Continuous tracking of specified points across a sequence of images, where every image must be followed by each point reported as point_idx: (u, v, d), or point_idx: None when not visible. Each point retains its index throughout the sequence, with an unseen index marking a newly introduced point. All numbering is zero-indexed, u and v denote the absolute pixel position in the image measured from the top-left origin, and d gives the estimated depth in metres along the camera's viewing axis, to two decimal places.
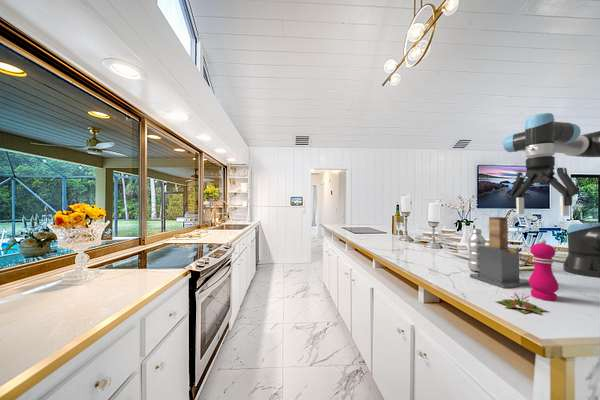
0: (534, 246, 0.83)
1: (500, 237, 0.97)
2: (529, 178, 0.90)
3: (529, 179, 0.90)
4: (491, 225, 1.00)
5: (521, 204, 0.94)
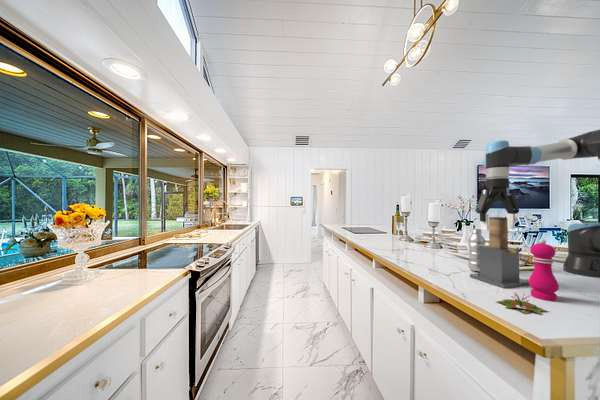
0: (534, 246, 0.83)
1: (500, 237, 0.97)
2: None
3: None
4: (491, 225, 1.00)
5: (509, 220, 1.01)
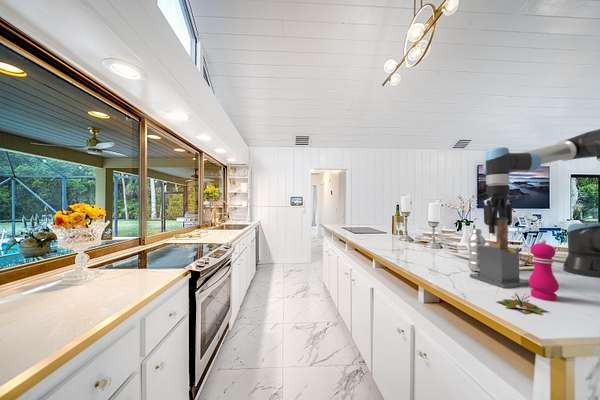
0: (534, 246, 0.83)
1: (500, 237, 0.97)
2: None
3: None
4: None
5: None
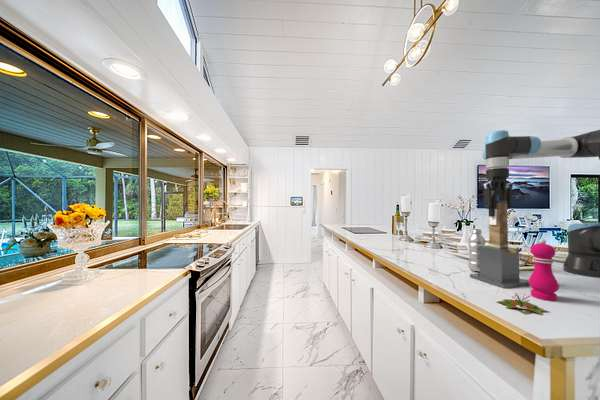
0: (534, 246, 0.83)
1: (500, 220, 0.97)
2: None
3: None
4: None
5: None
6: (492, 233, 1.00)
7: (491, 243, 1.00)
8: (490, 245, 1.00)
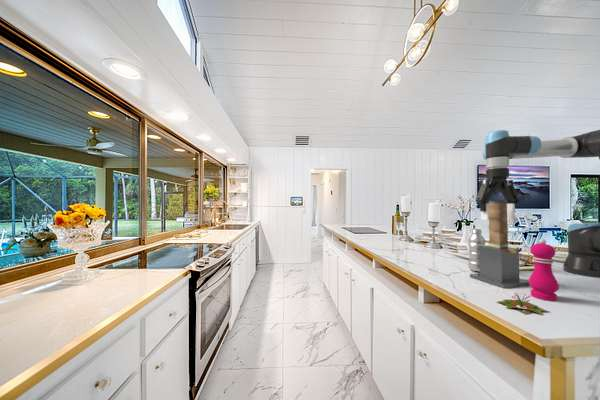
0: (534, 246, 0.83)
1: (500, 219, 0.97)
2: None
3: None
4: (491, 208, 1.00)
5: (509, 210, 1.01)
6: (492, 233, 1.00)
7: (491, 243, 1.00)
8: (490, 245, 1.00)
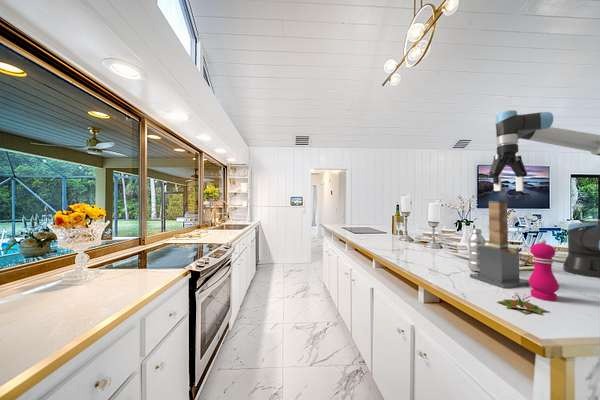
0: (534, 246, 0.83)
1: (500, 219, 0.97)
2: None
3: None
4: (491, 208, 1.00)
5: (518, 182, 1.12)
6: (492, 233, 1.00)
7: (491, 243, 1.00)
8: (490, 245, 1.00)
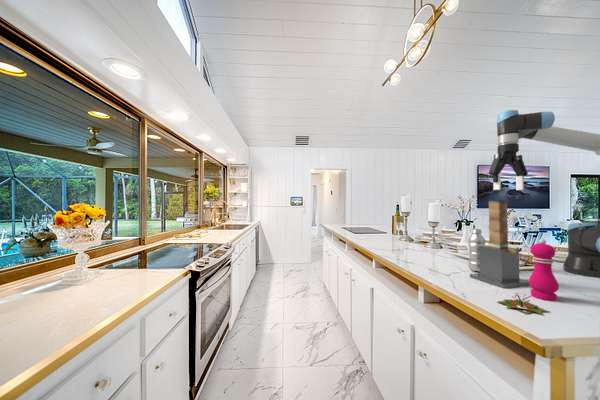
0: (534, 246, 0.83)
1: (500, 219, 0.97)
2: None
3: None
4: (491, 208, 1.00)
5: (519, 181, 1.13)
6: (492, 233, 1.00)
7: (491, 243, 1.00)
8: (490, 245, 1.00)
